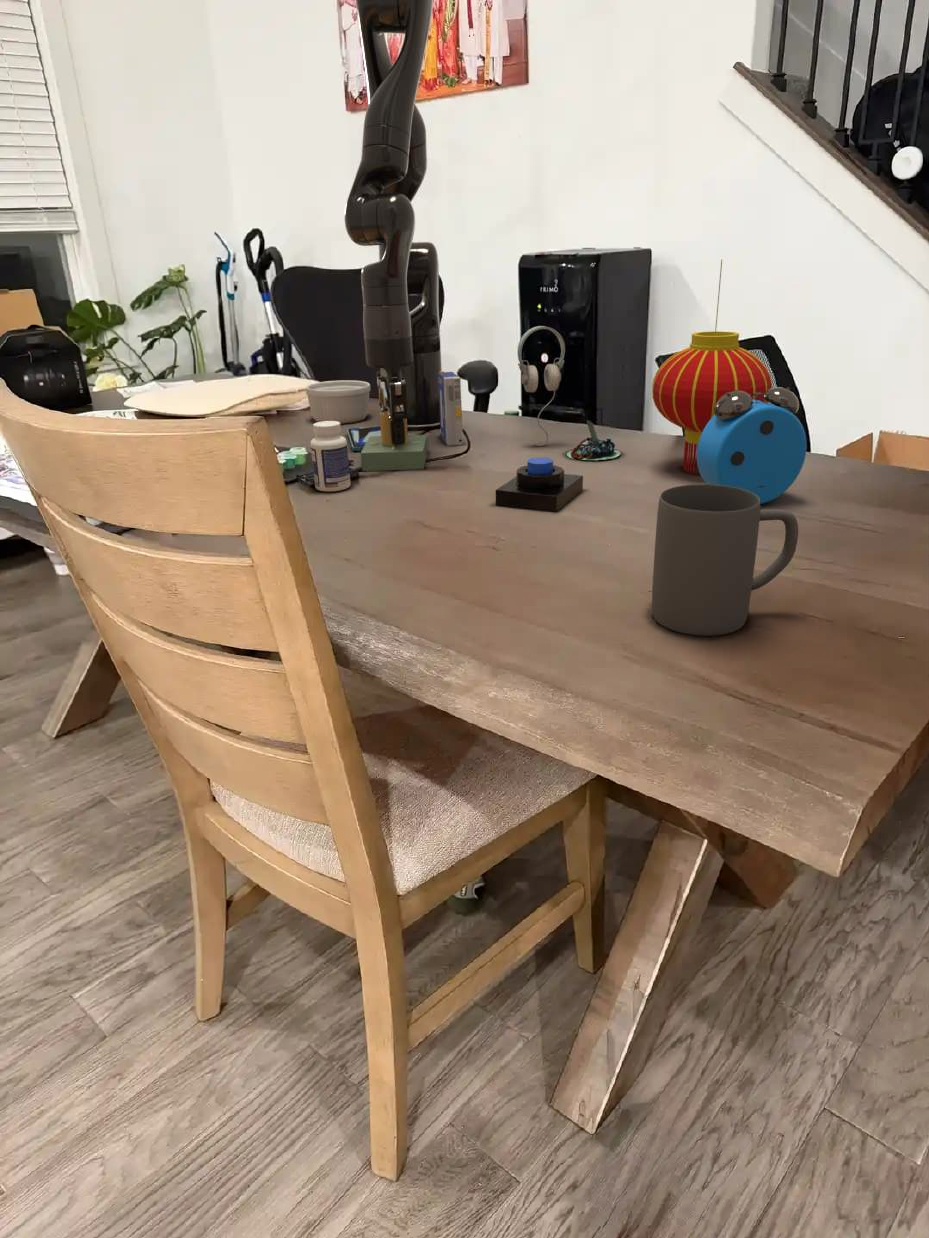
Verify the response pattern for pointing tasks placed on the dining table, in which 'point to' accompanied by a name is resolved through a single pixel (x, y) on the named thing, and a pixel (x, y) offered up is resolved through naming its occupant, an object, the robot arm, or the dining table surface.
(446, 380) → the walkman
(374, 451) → the block
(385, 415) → the dimmer knob
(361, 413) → the ramekin
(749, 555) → the mug
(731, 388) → the lantern
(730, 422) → the alarm clock
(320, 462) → the pill bottle
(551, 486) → the lamp switch
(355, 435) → the smartphone
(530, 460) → the button
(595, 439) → the dish
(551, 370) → the headphones
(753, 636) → the dining table surface
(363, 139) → the robot arm
